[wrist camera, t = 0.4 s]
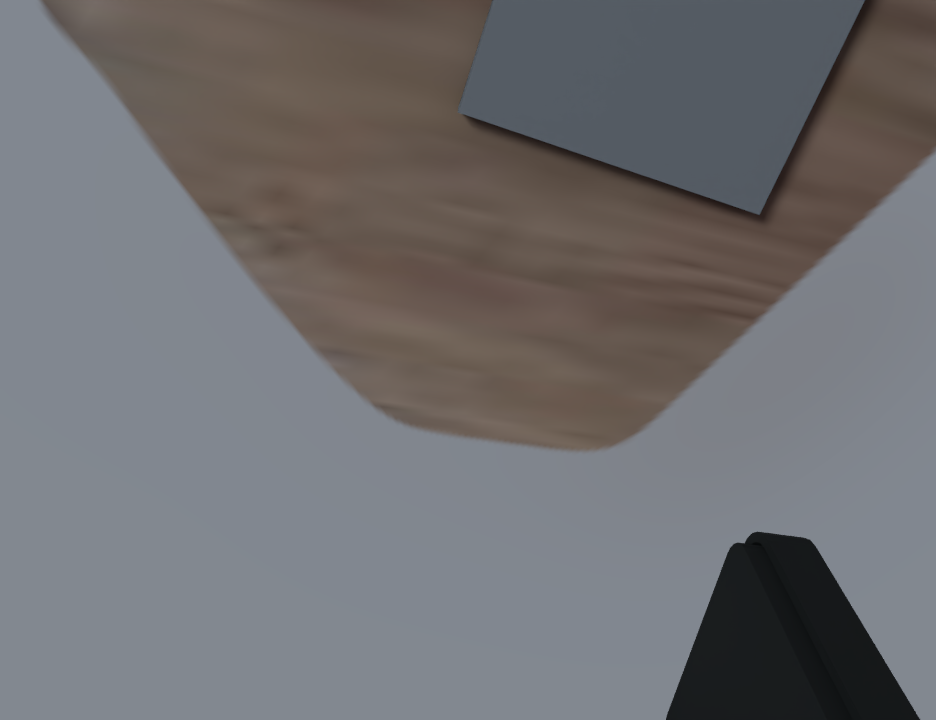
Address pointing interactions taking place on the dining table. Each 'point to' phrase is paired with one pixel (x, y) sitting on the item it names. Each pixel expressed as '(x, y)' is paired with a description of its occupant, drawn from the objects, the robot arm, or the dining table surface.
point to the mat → (662, 83)
